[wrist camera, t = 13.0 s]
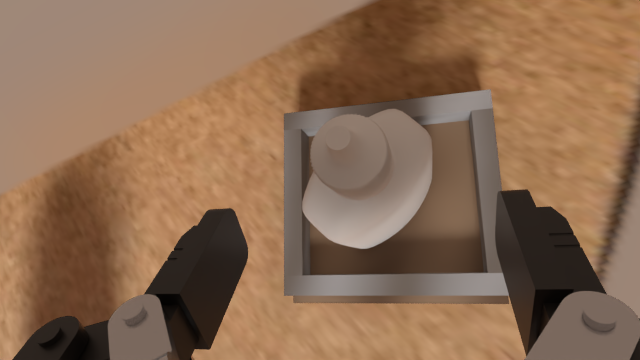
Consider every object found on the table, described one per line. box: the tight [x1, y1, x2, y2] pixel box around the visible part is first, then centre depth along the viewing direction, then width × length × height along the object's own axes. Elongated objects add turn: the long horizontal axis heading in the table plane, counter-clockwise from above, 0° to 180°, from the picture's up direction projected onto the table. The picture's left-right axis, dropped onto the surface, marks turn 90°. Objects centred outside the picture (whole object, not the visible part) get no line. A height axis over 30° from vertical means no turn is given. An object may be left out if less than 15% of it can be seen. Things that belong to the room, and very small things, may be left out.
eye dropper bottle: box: [302, 109, 432, 249], centre depth 17 cm, size 4×6×12 cm
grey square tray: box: [284, 89, 509, 304], centre depth 22 cm, size 11×11×3 cm
